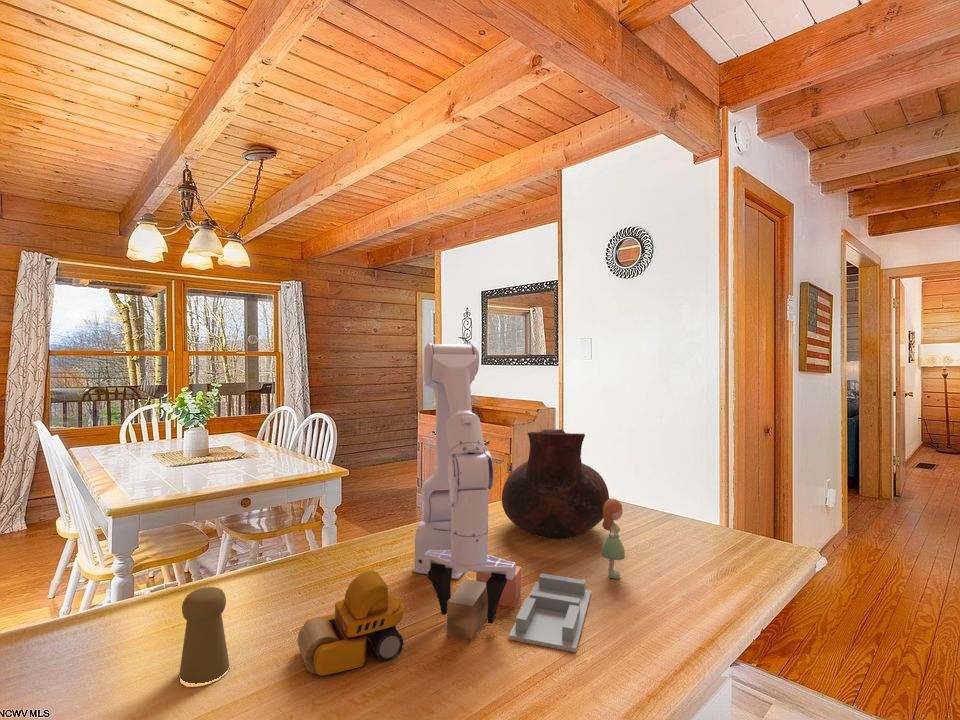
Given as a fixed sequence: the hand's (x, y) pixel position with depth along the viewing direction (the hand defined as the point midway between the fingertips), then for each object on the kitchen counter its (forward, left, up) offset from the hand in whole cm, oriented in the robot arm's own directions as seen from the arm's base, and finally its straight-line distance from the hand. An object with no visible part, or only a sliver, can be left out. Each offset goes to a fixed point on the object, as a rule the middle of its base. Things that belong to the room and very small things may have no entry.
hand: (468, 616), depth 83 cm
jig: (+12, +8, -2) cm, 14 cm away
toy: (+20, +26, -2) cm, 33 cm away
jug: (+5, +46, -2) cm, 46 cm away
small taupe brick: (0, 0, -2) cm, 2 cm away
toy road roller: (-13, -12, -2) cm, 18 cm away
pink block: (+2, +10, -2) cm, 10 cm away
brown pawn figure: (-29, -23, -2) cm, 37 cm away
